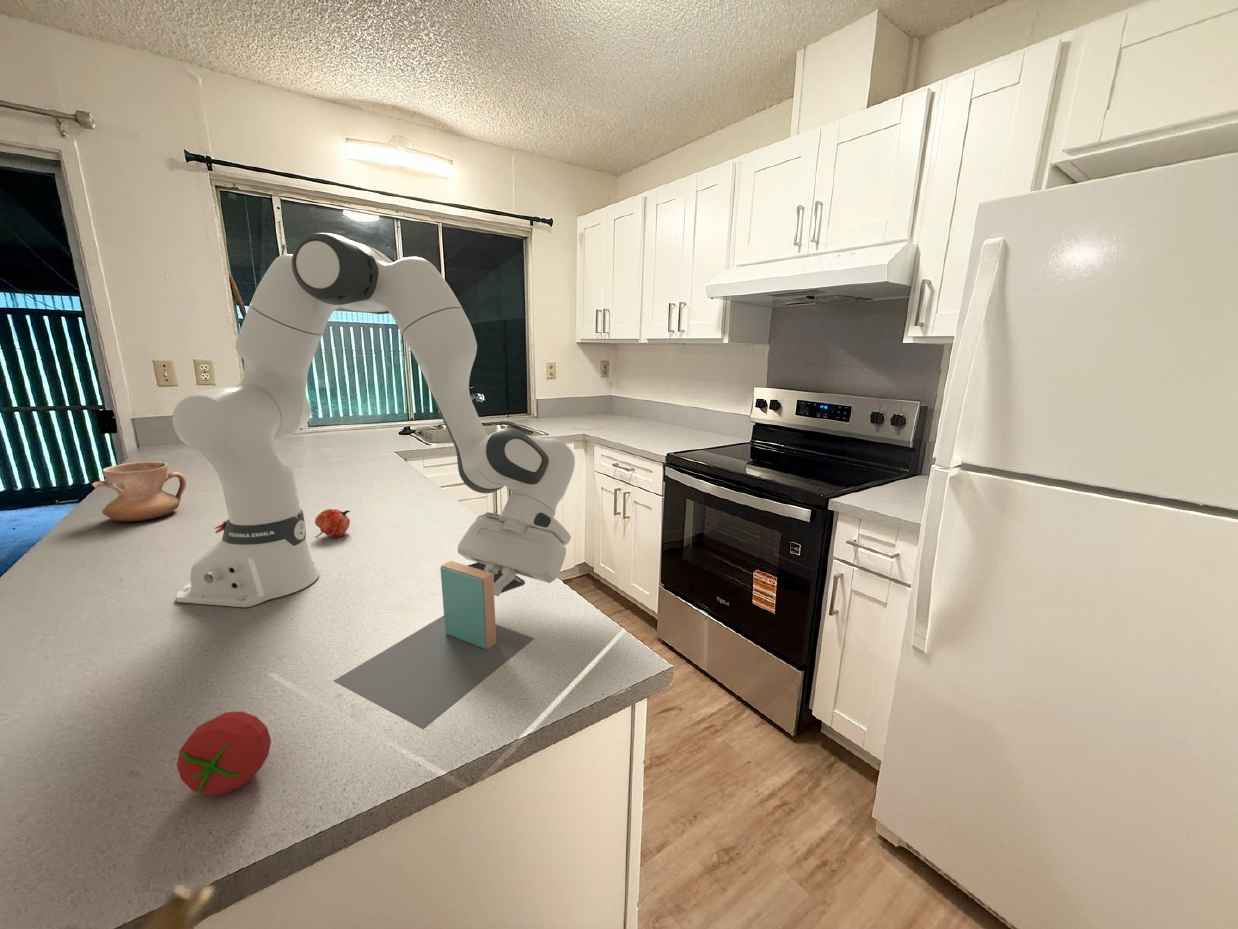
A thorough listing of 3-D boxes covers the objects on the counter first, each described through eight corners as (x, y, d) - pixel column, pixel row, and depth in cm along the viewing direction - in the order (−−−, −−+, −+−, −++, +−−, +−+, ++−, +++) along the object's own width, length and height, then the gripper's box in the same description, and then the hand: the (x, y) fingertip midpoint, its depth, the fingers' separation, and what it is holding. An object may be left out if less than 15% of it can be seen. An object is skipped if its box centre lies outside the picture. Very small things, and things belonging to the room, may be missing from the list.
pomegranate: (318, 552, 116) (351, 526, 116) (296, 529, 115) (330, 503, 115) (332, 543, 124) (364, 519, 124) (312, 521, 122) (344, 497, 122)
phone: (490, 558, 107) (527, 582, 97) (490, 563, 108) (527, 587, 97) (456, 568, 102) (491, 595, 91) (456, 573, 102) (491, 600, 92)
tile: (455, 627, 81) (450, 560, 78) (496, 642, 77) (493, 573, 74) (444, 634, 79) (439, 566, 76) (486, 650, 75) (482, 579, 72)
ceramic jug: (105, 531, 120) (93, 476, 117) (96, 518, 129) (85, 466, 126) (198, 514, 134) (189, 465, 131) (184, 503, 143) (176, 456, 140)
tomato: (239, 685, 55) (187, 725, 47) (298, 723, 56) (256, 768, 48) (193, 742, 54) (134, 791, 47) (253, 779, 55) (205, 833, 48)
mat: (454, 612, 87) (454, 609, 87) (534, 641, 78) (534, 638, 78) (334, 684, 68) (333, 680, 68) (423, 732, 60) (423, 728, 59)
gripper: (472, 502, 89) (433, 571, 83) (564, 522, 80) (528, 602, 74) (490, 518, 94) (455, 585, 88) (579, 539, 85) (546, 615, 79)
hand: (489, 593), depth 81 cm, fingers closed
